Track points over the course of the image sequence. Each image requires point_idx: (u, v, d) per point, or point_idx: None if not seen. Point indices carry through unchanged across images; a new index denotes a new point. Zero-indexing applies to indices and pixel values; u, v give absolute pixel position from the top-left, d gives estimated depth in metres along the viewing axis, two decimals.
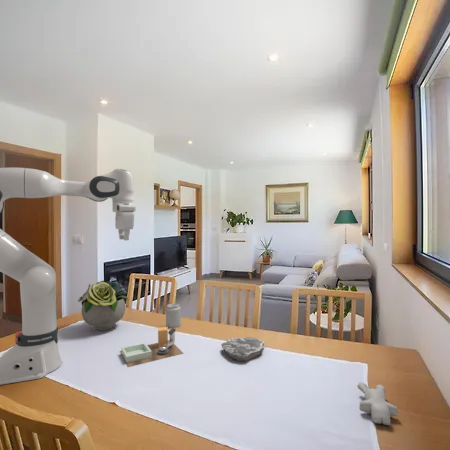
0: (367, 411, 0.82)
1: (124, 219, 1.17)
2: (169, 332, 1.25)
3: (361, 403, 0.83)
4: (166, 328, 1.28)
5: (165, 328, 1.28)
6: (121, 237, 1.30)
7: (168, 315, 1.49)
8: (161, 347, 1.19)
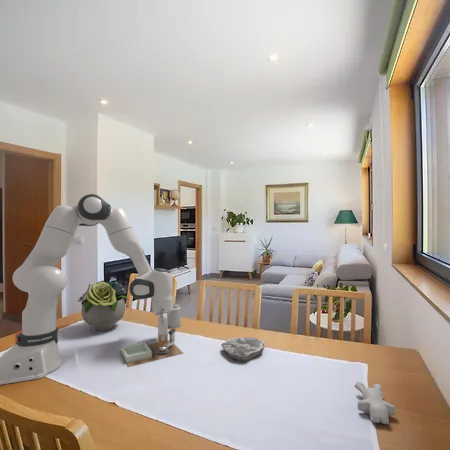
0: (365, 410, 0.82)
1: None
2: (169, 332, 1.25)
3: (359, 403, 0.83)
4: None
5: None
6: None
7: (168, 315, 1.49)
8: (161, 347, 1.19)
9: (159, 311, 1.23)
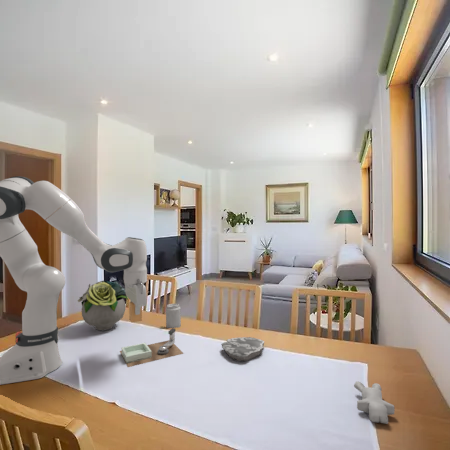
0: (365, 410, 0.82)
1: None
2: (169, 332, 1.25)
3: (359, 402, 0.83)
4: None
5: None
6: None
7: (168, 315, 1.49)
8: (161, 347, 1.19)
9: (134, 282, 1.13)
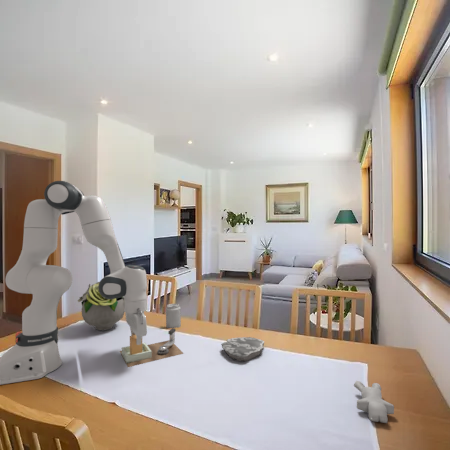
0: (364, 409, 0.83)
1: None
2: (169, 332, 1.25)
3: (358, 402, 0.83)
4: None
5: None
6: None
7: (168, 315, 1.49)
8: (161, 347, 1.19)
9: (134, 311, 1.13)
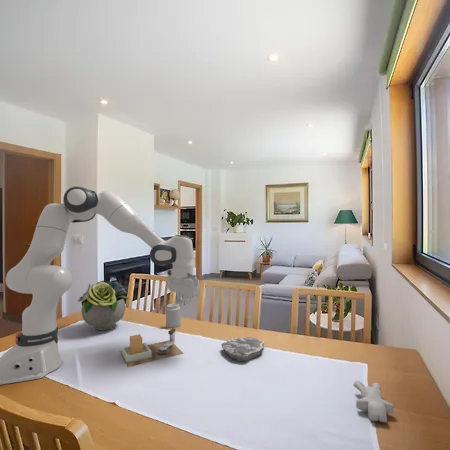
0: (364, 409, 0.83)
1: None
2: (169, 332, 1.25)
3: (358, 401, 0.83)
4: (139, 336, 1.18)
5: (138, 336, 1.18)
6: None
7: (168, 315, 1.49)
8: (161, 347, 1.19)
9: (186, 276, 1.23)
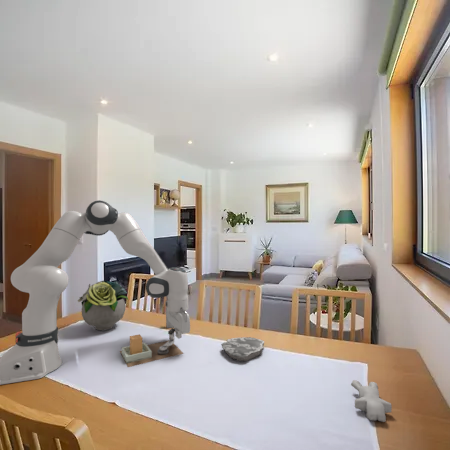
0: (362, 408, 0.83)
1: None
2: (169, 332, 1.25)
3: (356, 401, 0.84)
4: (139, 336, 1.18)
5: (138, 336, 1.18)
6: None
7: None
8: (161, 347, 1.19)
9: (178, 310, 1.23)
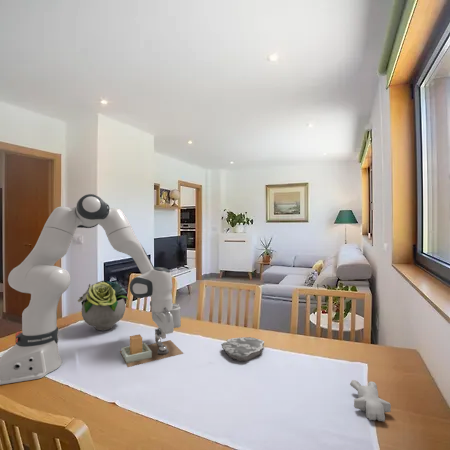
0: (361, 408, 0.83)
1: None
2: (158, 333, 1.25)
3: (356, 401, 0.84)
4: (139, 336, 1.18)
5: (138, 336, 1.18)
6: None
7: None
8: (162, 347, 1.19)
9: (162, 310, 1.22)
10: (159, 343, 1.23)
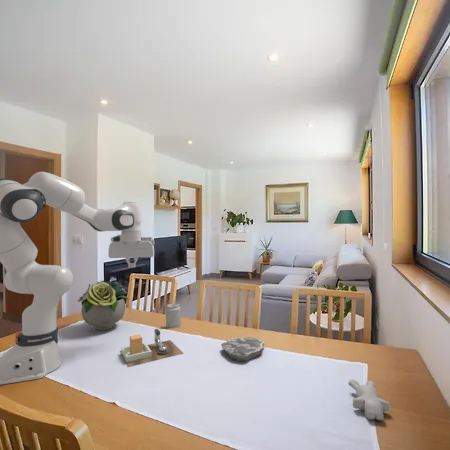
0: (360, 408, 0.84)
1: None
2: (158, 333, 1.25)
3: (354, 400, 0.84)
4: (139, 336, 1.18)
5: (138, 336, 1.18)
6: None
7: (168, 315, 1.49)
8: (162, 347, 1.19)
9: (140, 239, 1.35)
10: (159, 343, 1.23)
